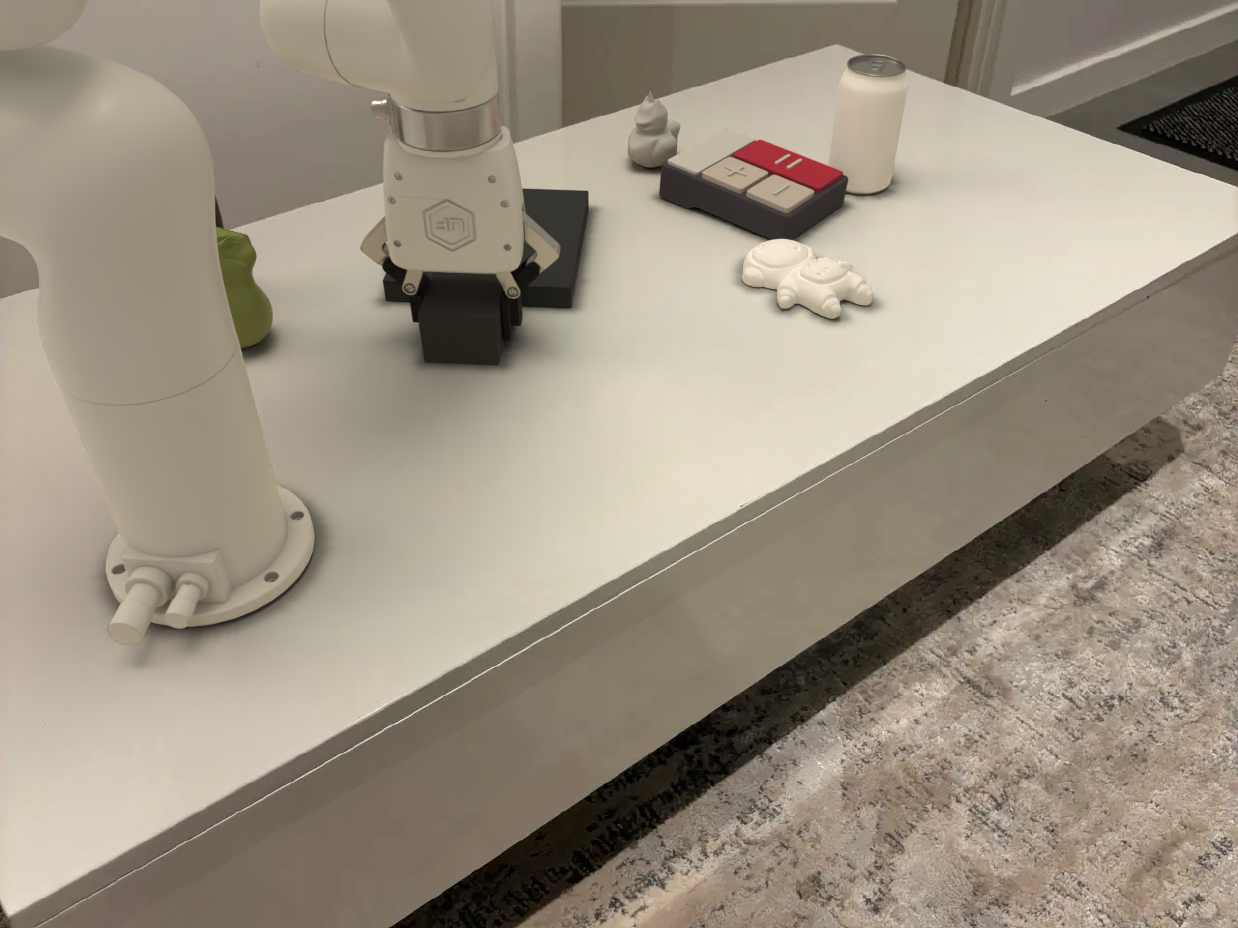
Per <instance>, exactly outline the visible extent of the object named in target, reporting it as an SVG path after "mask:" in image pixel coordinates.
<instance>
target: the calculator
mask: <svg viewBox="0 0 1238 928" xmlns="http://www.w3.org/2000/svg"><path fill="white" fill-rule="evenodd" d="M659 177H660V178H659V189H658V191H659V192H658V195H659V197H660V198H662V199H664V200H666V201H669V202H671V203H673V204H675V205H678V206H680V207H682V208H685V209H692V208H697V209H701V210H703V211H704V212H707V213H710V214H712V215H713V216H716V217H718V218H721V219H723V220H725V221H726V222H727V221H728V222H730V223H733V224H735V225H736V226H739V227H741V228H744V229H746V230H748V231H750V232H752V233H755V234H757V235H759V236H762V237H764V238H766V239H769V240H774V239H788V240H793V239H796V238H797V237H799V236H800V235H801V234H803V233H804V232H805V231H807V230H809V229H810V228H811V227H813V226H814V225H816V224H817V223H818V222H820V221H822V220H823V219H825V218H826V217H827V216H829V215H830V214H832V213H833V212H835V211H836V210H837V209H839V208H840V207H842V206H843V205H844V202H845V197H846V194H847V193H846V188H847V183H848V177H847V176H845V175H843V172H842V171H840V170H838V169H835V168H833V167H830V166H828V164H826V163H823V162H820V161H817V160H815V159H811V157H807V156H804V155H802V154H799V153H797V152H794V151H791V150H789V149H787V148H784V147H781V146H778V145H776V144H775V143H774V144H773V143H771V142H768V141H766V140H763V139H758V140H756V139H755V138H753V137H751V136H748V135H746V134H744V133H741V132H739V131H736V130H733V129H730V128H723V129H722V130H720V131H718V132H716V133H714V134H712V135H711V136H708V137H706V138H705V139H703V140H701V141H699V142H698V143H696V144H694V145H692V146H690V147H688V148H687V149H685V150H682V151H681V152H679V153H678V154H677V153H676V155H675V156H674V157H672V158H670V159H668V160H666V161H664V162H663V163H662V165H660V176H659Z"/></svg>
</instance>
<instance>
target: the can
mask: <svg viewBox="0 0 1238 928" xmlns="http://www.w3.org/2000/svg"><path fill="white" fill-rule="evenodd" d="M846 65H847V66H846V68H845V69H844V71H843V73H842V74H841V76H840V80H839V86H838V92H837V98H836V107H835V112H834V121H833V128H832V133H831V134H832V135H831V141H830V150H829V155H828V157H829V158H828V164H827V165H828V166H830V167H833V168H835V169H838V170H840V171H842V172H843V175H845V176H847V177H848V183H847V188H846V193H845V194H850V195H851V194H852V195H862V196H865V195H866V196H867V195H876V194H878V193H881V192H883V191H884V190H885V189H886V188H888V187H889V186H890V185H891V183H892V177H893V172H894V167H895V162H896V156H897V150H898V145H899V140H900V134H901V130H902V129H901V128H902V122H903V117H904V111H905V105H906V100H907V95H908V87H909V81H908V76H907V74H906V71H907V69H908V66H907V64H906V63H905V62H904V61H903V60H901V59H899V58H896V57H893V56H890V55H885V54H878V53H877V54H876V53H866V54H859V55H855V56H852V57H850V58H849V59H848V60H847V62H846Z"/></svg>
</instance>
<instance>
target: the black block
mask: <svg viewBox="0 0 1238 928" xmlns="http://www.w3.org/2000/svg"><path fill="white" fill-rule="evenodd" d="M501 291H502V287H501V285H500V283H499V281H498V279H497V277H496V275H495V274H478V273H448V272H433V275H432V278H431V281H430V284H429V286H428V289H427V292H426V295H425V297H424V299H423V302H422V305H421V307H420V310H419V313H418V322H419V323H418V329H419V335H420V342H421V351H422V357H423V362H424V363H429V364H430V363H431V364H454V365H477V366H478V365H479V366H499V365H500V363H501V358H502V354H503V350H504V346H505V342H506V341H505V340H504V339H503V337H502V325H501V312H500V295H501Z"/></svg>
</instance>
